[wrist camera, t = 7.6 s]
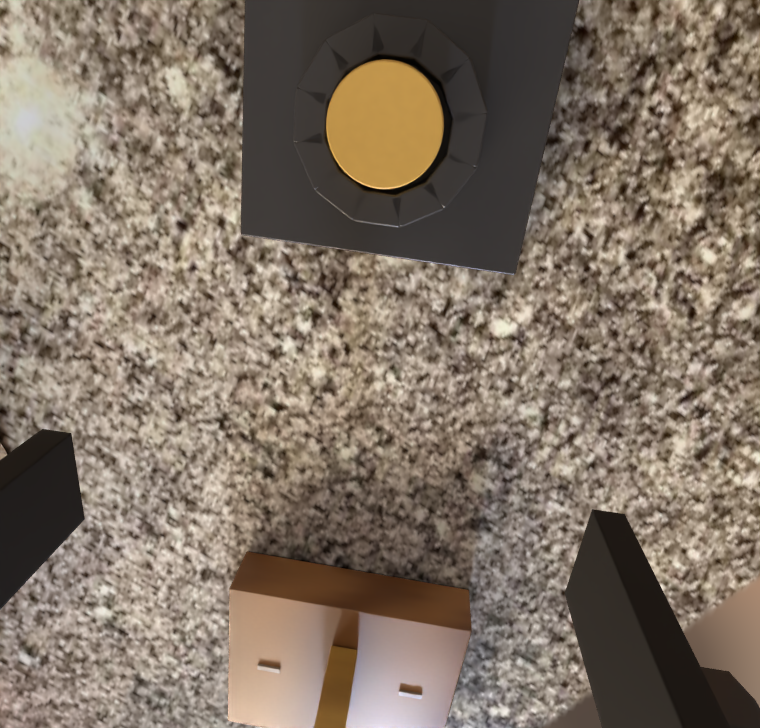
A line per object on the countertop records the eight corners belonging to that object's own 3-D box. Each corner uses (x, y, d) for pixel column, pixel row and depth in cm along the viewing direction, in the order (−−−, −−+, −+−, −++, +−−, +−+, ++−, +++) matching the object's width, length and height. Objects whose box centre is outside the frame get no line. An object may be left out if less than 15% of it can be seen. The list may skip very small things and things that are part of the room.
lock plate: (469, 589, 32) (472, 633, 29) (436, 714, 37) (436, 763, 34) (246, 551, 33) (228, 590, 30) (242, 678, 38) (226, 723, 35)
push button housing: (566, 10, 20) (594, -18, 17) (509, 264, 24) (521, 286, 21) (263, -28, 21) (226, -64, 17) (256, 227, 25) (224, 242, 21)
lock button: (452, 73, 18) (453, 67, 17) (433, 192, 20) (433, 196, 18) (340, 59, 19) (331, 51, 17) (330, 177, 20) (321, 180, 19)
